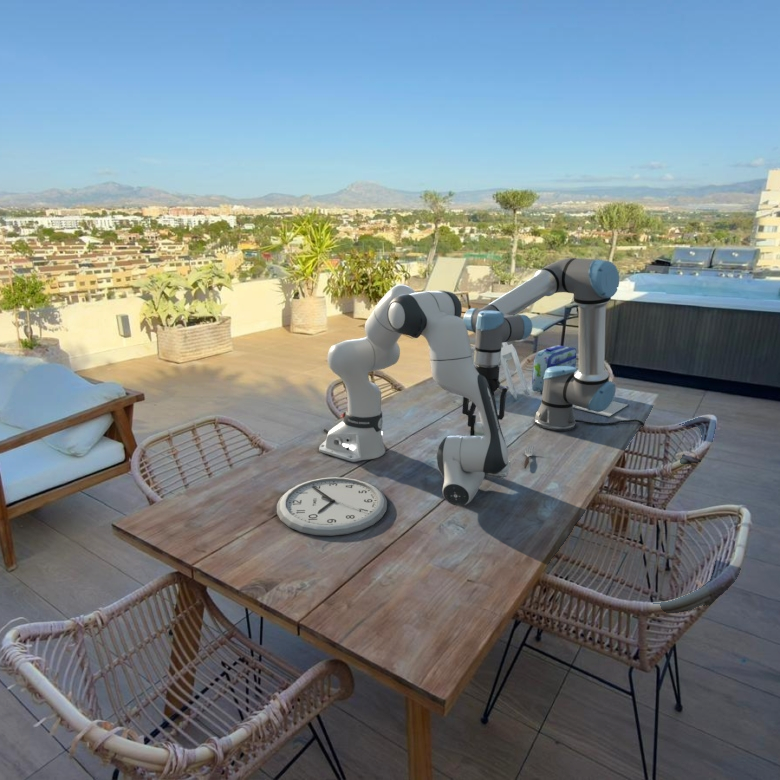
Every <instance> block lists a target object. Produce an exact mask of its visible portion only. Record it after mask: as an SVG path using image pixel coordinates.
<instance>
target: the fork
mask: <svg viewBox="0 0 780 780" xmlns="http://www.w3.org/2000/svg"><path fill="white" fill-rule="evenodd" d="M534 448H535V446H534V445H531V447H530V448H528V447H526V448H525V452H524V455H525V456H526V458H525V460H524V469H527V466H528V464H529V461H530V457H532V456H534Z"/></svg>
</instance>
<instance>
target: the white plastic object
mask: <svg viewBox="0 0 780 780" xmlns="http://www.w3.org/2000/svg"><path fill="white" fill-rule="evenodd" d="M501 346H502V347H501V357H500V364H499V367H500V366H502V370H503V373H504V376H505V380H506V383H507V387H508V391H509V393H510V394H511V395H512V397H513V398H514V399H515V400H517V392H516V391H517V390H516V388H515V385H514V381H513V378H512V375H511V371H510V369H509V365H508V361H510V360H513V363H514V366H515V369H516V372H517V376H518V380H519V382H520V385H521V389H522V391H523V393H524V395H525V396H526V397H528V396H531V395H530V390H529V388H528V387H529V386H528V384H527V381H526V378H525V375H524V371H523V369H522V368H523V367H522V366H521V362H520V359H519V355H518V352H517V349H516V347H515V346H514V345H513V343H511V344H508V342H503V343H502V345H501ZM471 353H472V361H473V364H474V365H475V363H474V354H475V345H473V346H471Z"/></svg>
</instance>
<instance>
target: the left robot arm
mask: <svg viewBox="0 0 780 780" xmlns="http://www.w3.org/2000/svg"><path fill="white" fill-rule="evenodd" d="M462 312H463V308H462V303H461V300H460V298H459V297H458V296H457V295H456V294H455V293H454V292H451V291H448V290H424V291H423V290H422V291H419V292H416V291H415V290H414V289H413V288H412V287H410V286H408V285H406V284H396V285H394V286H393V287H391V289H389V290H388V291H387V292H386V293H385V294H384V295H383V296H382V298H381V299H380V300H379V301H378V302H377V304H376V306H375V307H374V309H373V310H372V312H371V313H370V314H369V316H368V317H367V319H366V321H365V323H364V333H365V337H361V338H354V339H348V340H347V339H346V340H343V341H341V342H338V343H336V344H333V345H331V346H330V347H329V349H328V352H327V357H326V359H327V364H328V367H329V369H330V371H332V372H333V374H334V375H336V376H338V377H339V378H340V379H341V381H342V382H343V384H344V386H345V389H346V398H347V408H346V410H345V411H342V413H341V415H340V419H342V421H340V422H339V423H337V424H336V425H334V426H333V427H332V428H330V429H329V430H327V429H326V428H324V429H323V432H324V433H326V439H325V440H324V441H323V442H322V443H321V444H320V445H319V447H318V448H319V449H318V451H319V452H320V453H323V454H325V455H329V456H331V457H335V458H339V459H340V460H341V459H342V460H344V461H348V462H352V463H357V462H361V461H366V460H374V459H378V458H380V457H383V455H384V454H386V448H385V444H384V440H383V439H384V438H383V435H384V434H383V433H384V432H383V431H382V429H383V423H384V421H383V420H384V419H383V411H382V390H381V388H380V387H379V386H378V385H377V383H374V382H372V381H370V377H369V372H374V371H375V372H376V371H381V370H384V369H387V368H389V367H392V366H394V365H395V364H397V363H398V362H399V359H400V356H401V349H400V345H399V343H398V341H399V339H400V338H401V336H402V335H404V336H408V337H411V338H412V339H413V338H414V339H418V338H419V337H420V336H422V337H423V338H425V340H426V341H427V344H428V354H429V355H428V356H429V365H430V366H429V367H430V373H431V376H432V379H433V381H434V382H435V384H436V385H438V386H439V387H440V388H441V389H443V390H445V391H447V392H448V393H452V394H453V395H454V394H455V395H458V396H460V397H462V398H463V397H465V398H467V399H469V401H471V403H472V402H473V403H474V404H475V405H476V409H477V412H478V416H479V420H480V422H481V424H482V427H483V431H484V435H483V436H470V435H463V434H462V435H461V434H460V435H447V436H445V437H444V438H443V439H442V441H441V442H440V444H439V446H438V448H437V452H436V462H437V467H438V470H439V472H440V475H441V477H443V484H442V490H441V491H442V496H443V498H444V499H445V501H446V502H447V503H449V504H451V505H452V506H457V507H462V506H463V507H464V506H466V505H468V504H469V503H470V502H471V501H472V500H473V499H474V497H476V495H477V492H478V491H479V489H480V486H481V485H482V483H483V481H484V479H485V478H486V477H488V478H494V479H504V478H506V477H508V475H509V472H510V470H511V460H510V459H509V448H508V446H507V443H506V440H505V437H504V434H503V432H502V428H501V423H500V420H498V416H497V413H498V411H497V412H496V408H495V405H494V401H493V397H492V394H491V390H490V387H489V384H488V382H487V380H486V378H485V377H484V376H482V375H480V374H479V373H478V372H477V370H476V368H475V366H474V364H473V361H472V353H471V347H472V346H471V341H470V336H469V331H468V330H467V327H466V324H465V322H464V321H463V318H462Z"/></svg>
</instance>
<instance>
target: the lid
mask: <svg viewBox="0 0 780 780" xmlns="http://www.w3.org/2000/svg"><path fill="white" fill-rule="evenodd" d="M474 431H476V432H479V433H484V431H483V427H482V424H481V421H475V423H474Z"/></svg>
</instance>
